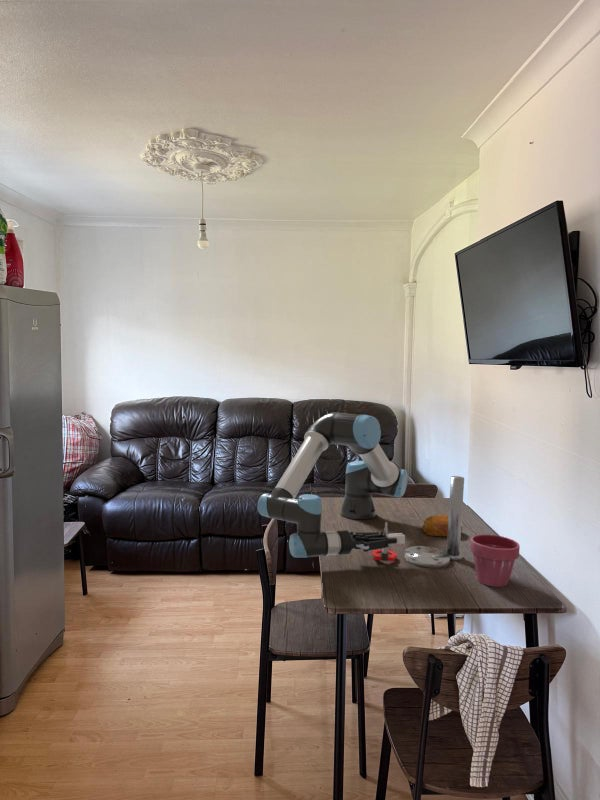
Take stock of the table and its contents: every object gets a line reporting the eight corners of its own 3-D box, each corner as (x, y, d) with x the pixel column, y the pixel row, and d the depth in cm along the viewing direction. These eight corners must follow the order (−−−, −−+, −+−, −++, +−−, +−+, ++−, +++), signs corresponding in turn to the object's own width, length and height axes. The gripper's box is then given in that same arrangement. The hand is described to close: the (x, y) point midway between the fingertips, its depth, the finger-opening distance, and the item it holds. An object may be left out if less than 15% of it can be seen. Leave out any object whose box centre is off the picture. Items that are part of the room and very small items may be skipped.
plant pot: (507, 573, 182) (510, 534, 181) (524, 591, 168) (527, 550, 167) (463, 571, 182) (465, 532, 181) (475, 589, 168) (478, 547, 167)
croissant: (464, 544, 216) (468, 524, 215) (425, 537, 215) (429, 517, 214) (452, 531, 230) (457, 512, 230) (416, 525, 230) (419, 506, 229)
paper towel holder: (397, 553, 197) (401, 474, 195) (449, 549, 203) (453, 472, 201) (417, 569, 183) (422, 484, 180) (473, 564, 189) (478, 482, 186)
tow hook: (371, 551, 196) (371, 560, 187) (373, 515, 195) (373, 521, 186) (396, 554, 195) (397, 562, 185) (398, 517, 194) (399, 523, 185)
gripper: (329, 546, 189) (393, 542, 196) (344, 562, 175) (412, 556, 182) (330, 524, 188) (394, 520, 195) (345, 538, 175) (413, 534, 181)
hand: (403, 538), depth 189 cm, fingers closed on tow hook
